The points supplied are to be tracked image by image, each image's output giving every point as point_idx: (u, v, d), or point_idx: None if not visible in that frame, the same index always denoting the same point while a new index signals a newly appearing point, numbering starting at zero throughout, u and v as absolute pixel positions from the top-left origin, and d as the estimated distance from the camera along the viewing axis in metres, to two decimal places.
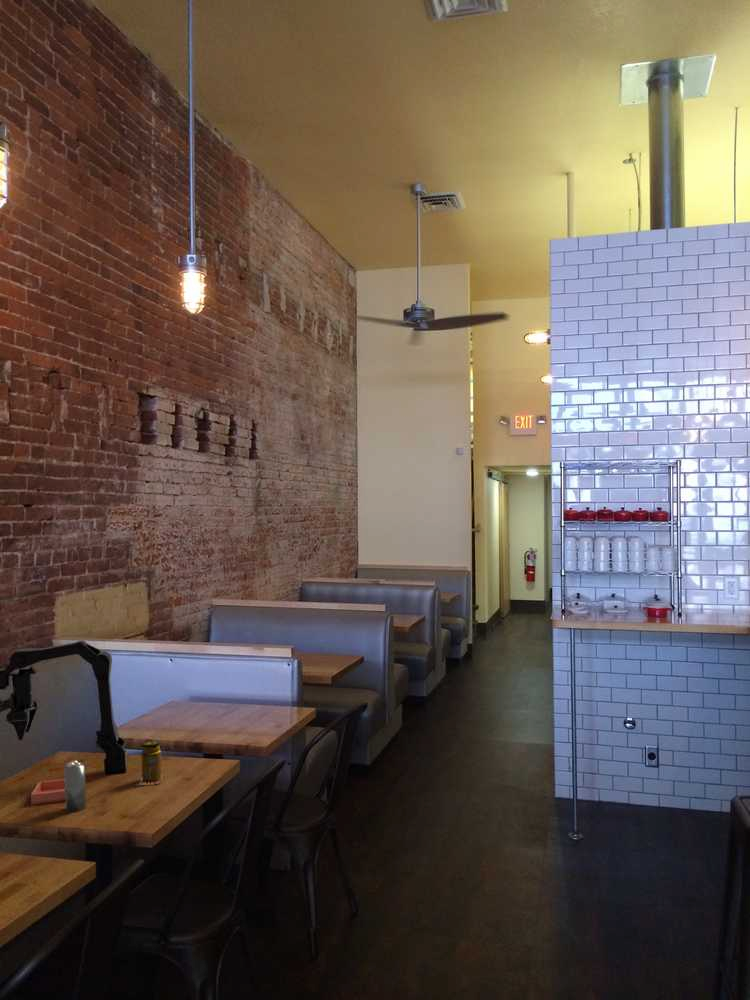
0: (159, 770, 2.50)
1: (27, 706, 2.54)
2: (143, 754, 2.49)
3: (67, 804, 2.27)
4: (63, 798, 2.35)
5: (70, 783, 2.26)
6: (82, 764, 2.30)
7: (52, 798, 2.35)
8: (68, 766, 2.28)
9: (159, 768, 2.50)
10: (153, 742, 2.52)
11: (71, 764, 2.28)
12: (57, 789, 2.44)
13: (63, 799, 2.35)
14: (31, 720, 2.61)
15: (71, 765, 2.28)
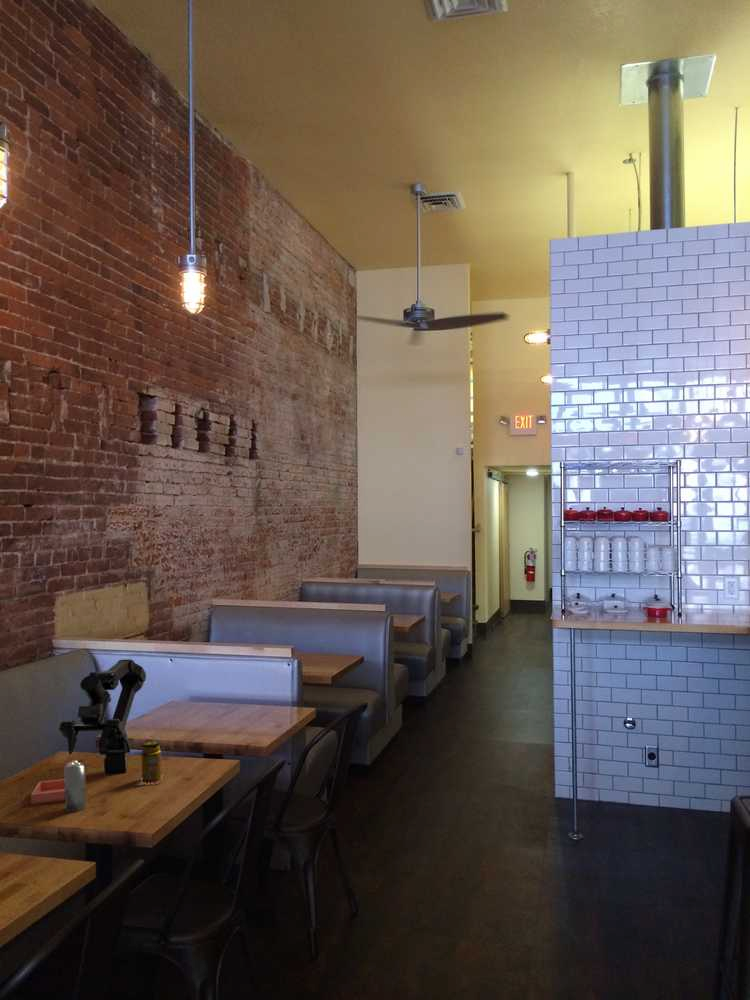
0: (159, 770, 2.50)
1: None
2: (143, 754, 2.49)
3: (67, 804, 2.27)
4: (63, 798, 2.35)
5: (70, 783, 2.26)
6: (82, 764, 2.30)
7: (52, 798, 2.35)
8: (68, 766, 2.28)
9: (159, 768, 2.50)
10: (153, 742, 2.52)
11: (71, 764, 2.28)
12: (57, 789, 2.44)
13: (63, 799, 2.35)
14: (74, 745, 2.41)
15: (71, 765, 2.28)
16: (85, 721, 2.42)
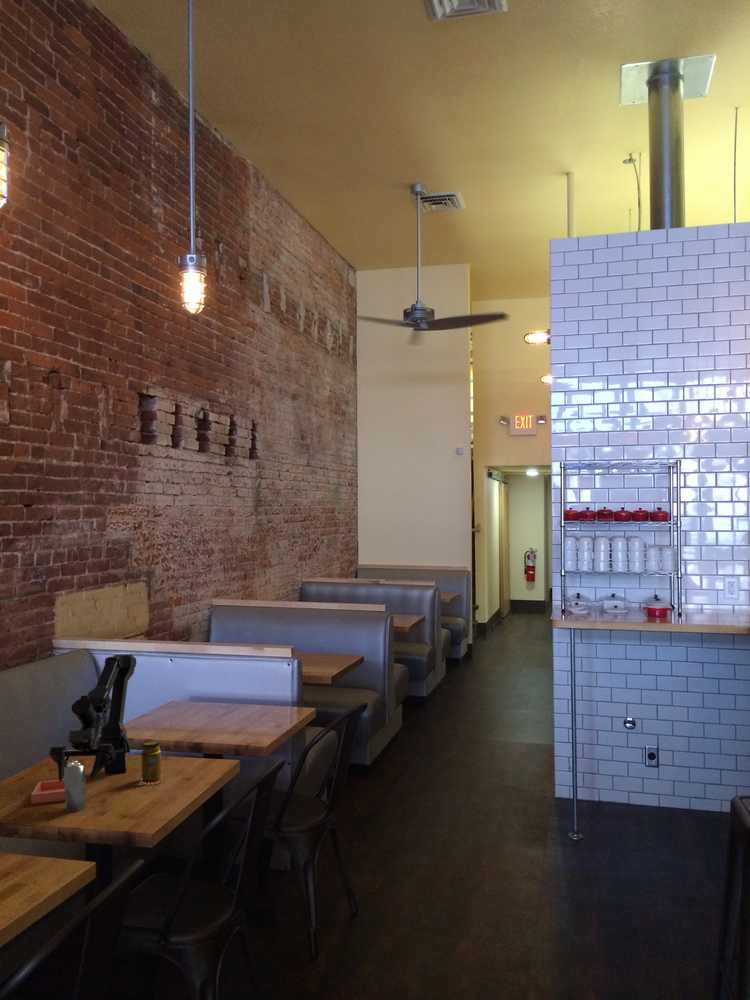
0: (159, 770, 2.50)
1: None
2: (143, 754, 2.49)
3: (67, 804, 2.27)
4: (63, 798, 2.35)
5: (70, 783, 2.26)
6: (82, 764, 2.30)
7: (52, 798, 2.35)
8: (68, 766, 2.28)
9: (159, 768, 2.50)
10: (153, 742, 2.52)
11: (71, 764, 2.28)
12: (57, 789, 2.44)
13: (63, 799, 2.35)
14: None
15: (71, 765, 2.28)
16: (76, 746, 2.35)
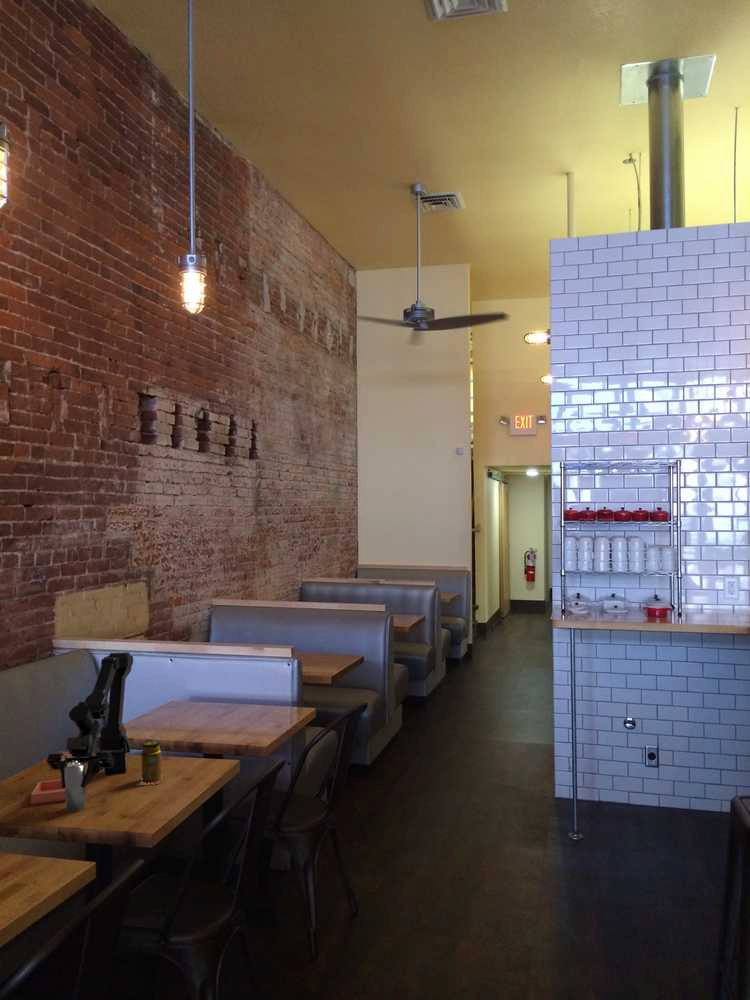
0: (159, 770, 2.50)
1: None
2: (143, 754, 2.49)
3: (67, 804, 2.27)
4: (63, 798, 2.35)
5: (70, 783, 2.26)
6: (82, 764, 2.30)
7: (52, 798, 2.35)
8: (68, 766, 2.28)
9: (159, 768, 2.50)
10: (153, 742, 2.52)
11: (71, 764, 2.28)
12: (57, 789, 2.44)
13: (63, 799, 2.35)
14: None
15: (71, 765, 2.28)
16: (74, 753, 2.33)
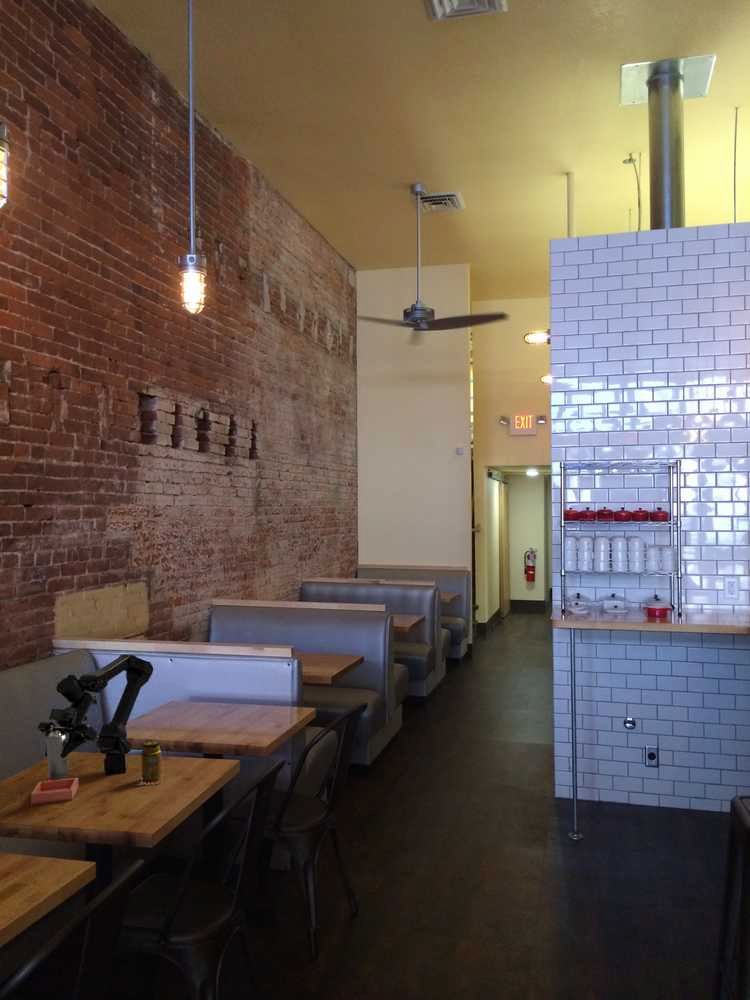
0: (159, 770, 2.50)
1: None
2: (143, 754, 2.49)
3: (48, 772, 2.35)
4: (63, 798, 2.35)
5: (49, 752, 2.34)
6: (63, 735, 2.36)
7: (52, 798, 2.35)
8: (49, 736, 2.35)
9: (159, 768, 2.50)
10: (153, 742, 2.52)
11: (52, 734, 2.36)
12: (57, 789, 2.44)
13: (63, 799, 2.35)
14: None
15: (52, 735, 2.35)
16: (60, 723, 2.41)
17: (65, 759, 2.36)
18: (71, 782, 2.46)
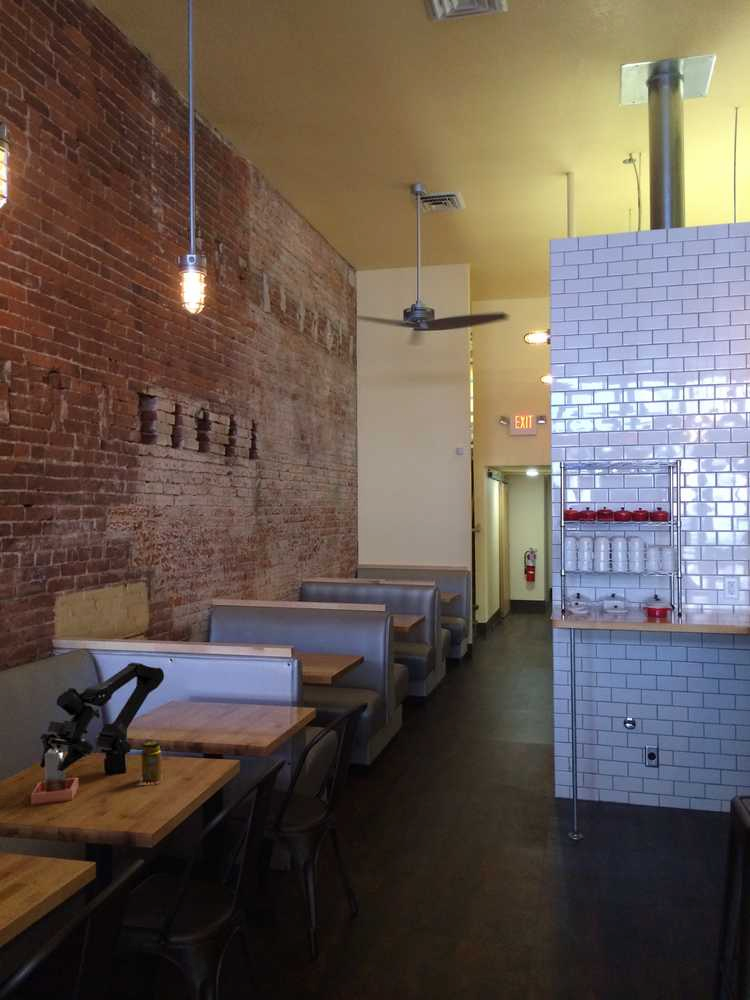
0: (159, 770, 2.50)
1: None
2: (143, 754, 2.49)
3: (46, 788, 2.39)
4: (63, 798, 2.35)
5: (46, 769, 2.38)
6: (60, 752, 2.40)
7: (52, 798, 2.35)
8: (47, 752, 2.40)
9: (159, 768, 2.50)
10: (153, 742, 2.52)
11: (50, 751, 2.40)
12: None
13: (63, 799, 2.35)
14: None
15: (50, 752, 2.40)
16: (60, 736, 2.45)
17: (61, 776, 2.39)
18: (71, 782, 2.46)
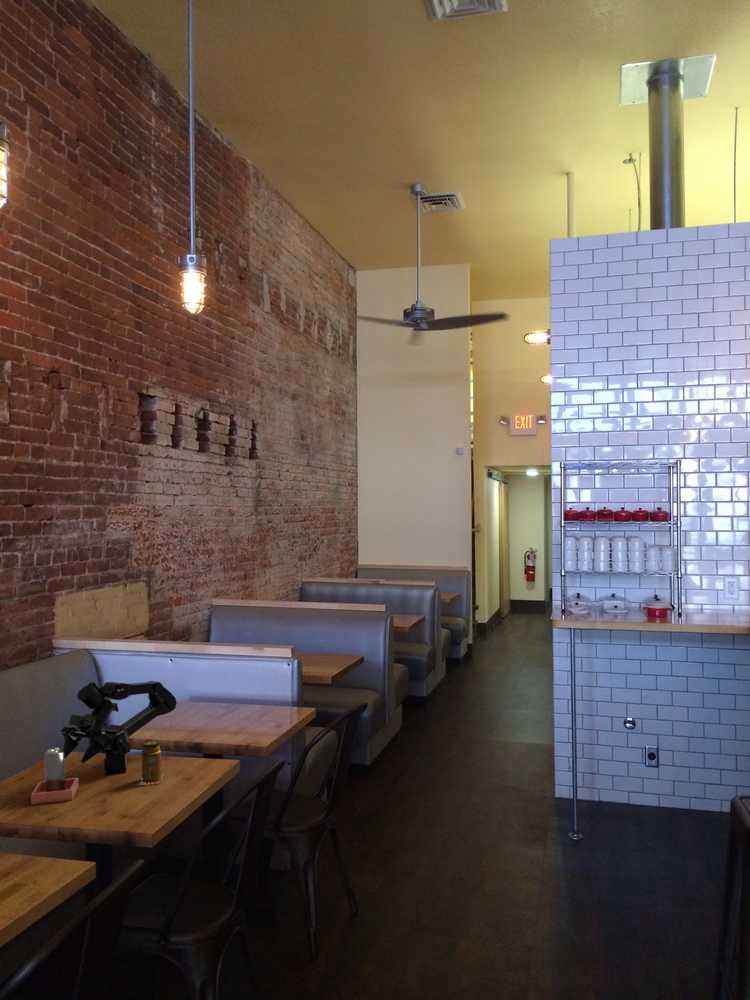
0: (159, 770, 2.50)
1: None
2: (143, 754, 2.49)
3: None
4: (63, 798, 2.35)
5: (46, 769, 2.38)
6: (60, 752, 2.40)
7: (52, 798, 2.35)
8: (47, 752, 2.40)
9: (159, 768, 2.50)
10: (153, 742, 2.52)
11: (50, 751, 2.40)
12: None
13: (63, 799, 2.35)
14: (71, 750, 2.52)
15: (49, 752, 2.40)
16: (80, 729, 2.52)
17: (61, 776, 2.39)
18: (71, 782, 2.46)
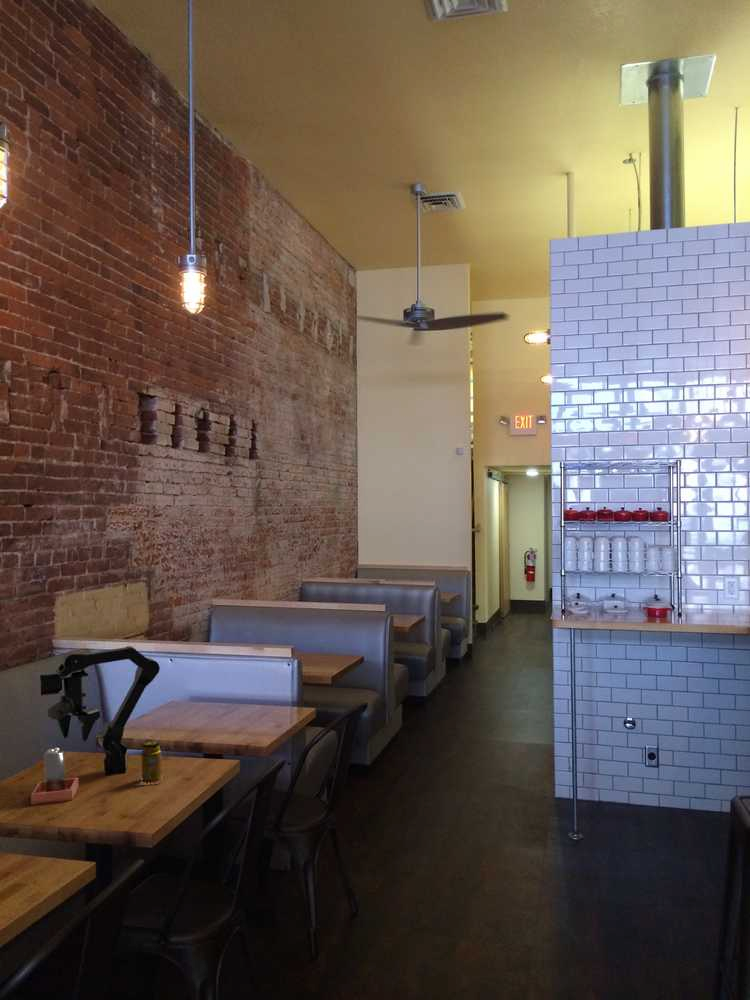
0: (159, 770, 2.50)
1: (83, 707, 2.56)
2: (143, 754, 2.49)
3: None
4: (63, 798, 2.35)
5: (46, 769, 2.38)
6: (60, 752, 2.40)
7: (52, 798, 2.35)
8: (47, 752, 2.40)
9: (159, 768, 2.50)
10: (153, 742, 2.52)
11: (50, 751, 2.40)
12: None
13: (63, 799, 2.35)
14: (68, 725, 2.59)
15: (49, 752, 2.40)
16: None
17: (61, 776, 2.39)
18: (71, 782, 2.46)
